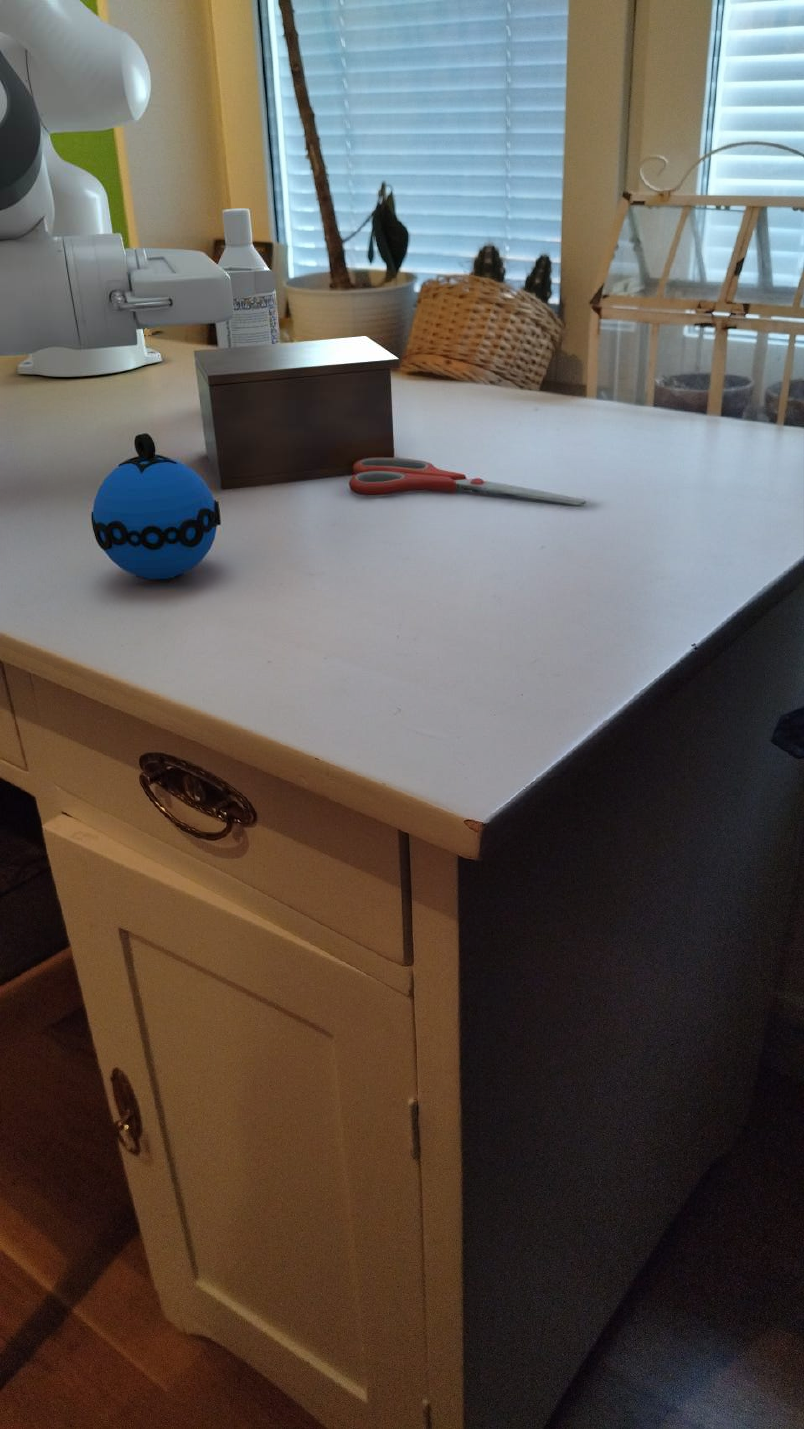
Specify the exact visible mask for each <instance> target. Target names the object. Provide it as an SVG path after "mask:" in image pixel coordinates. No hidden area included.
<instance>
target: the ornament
mask: <svg viewBox="0 0 804 1429" xmlns="http://www.w3.org/2000/svg"><path fill="white" fill-rule="evenodd" d="M133 442H134V443H133V444H134V450H135V452H136V453H137V455H136V456H134V457H131V458H129V459H126V460H124V461H123V462H121V463H119V464H118V466H117V467H115V468H114V469H113V470H112V471H111V472H110V473H109V474H108V475H107V476H106V477H105V478H104V480H103V482H102V483H101V484H100V486H99V487H98V490H97V493H96V495H95V498H94V500H93V508H92V511H91V514H90V515H91V516H90V517H91V526H92V531H93V535H94V538H95V541H96V543H97V545H98V546H99V548H101V549H102V550H103V552H104V553H105V555H107V556H108V558H109V559H110V560H111V561H112V562H113V563H114V564H115V565H117V566H118V567H119V569H122V570H123V571H125V572H127V573H129V574H131V575H133V576H135V577H137V578H141V579H145V580H156V581H165V580H170V579H173V578H179V577H182V576H183V575H184V574H186V573H187V572H189V571H192V570H193V569H194V568H195V567H196V566H198V564H200V563H201V562H202V561H203V560H204V559H205V557H206V556H207V554H208V553H209V552H210V550H211V548H212V546H213V543H214V542H215V539H216V532H217V529H218V526H221V525H222V520H221V512H220V511H221V510H220V504H219V501H217V500H216V499H214V496H213V494H212V492H211V490H210V488H209V486H208V485H207V483H206V482H205V480H203V478H202V476H200V475H199V474H198V473H197V472H195V470H194V469H192V468H191V467H190V466H188V465H186V464H185V463H183V462H182V461H179V460H176V459H173V458H170V457H167V456H165V455H160V454H157V453H156V445H155V442H154V439H153V438H152V436H151V435H150V434H149V433H146V432H144V433H139V434H136V435H135V437H134V441H133Z"/></svg>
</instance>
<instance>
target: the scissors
mask: <svg viewBox="0 0 804 1429" xmlns="http://www.w3.org/2000/svg"><path fill="white" fill-rule="evenodd" d="M353 472H354V474H355V475H351V477H350V479H349V481H348V485H349V489H350V491H352V492H353V493H354V494H356V495H360V496H366V497H368V496H371V497H372V496H374V497H375V496H386V495H394V494H399V493H405V492H413V491H417V492H418V491H421V492H422V491H423V492H438V493H439V492H440V493H455V492H456V491H457V488H460V489H462V490H464V491H469V492H473V493H477V494H479V493H481V494H488V495H495V496H503V497H512V498H517V499H524V500H525V499H526V500H532V501H540V502H548V503H553V504H561V505H568V506H583V505H585V504H586V503H587V501H586V500H584V499H579V498H576V497H573V496H567V495H564V494H558V493H553V492H548V491H543V490H540V489H534V488H528V487H524V486H523V487H522V486H517V485H512V484H506V483H499V482H493V481H487V480H484V479H482V478H479V477H475V478H467V476H466V475H465V474H464V473H461V472H455V471H449V470H443V469H441V468H437V467H436V466H435V465H434V464H432V463H430V462H428V461H425V460H421V459H420V460H419V459H413V458H404V457H394V458H393V457H372V458H365V459H361V460H359V461H357V462H356V463H355V464H354V466H353Z"/></svg>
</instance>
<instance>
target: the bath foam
mask: <svg viewBox="0 0 804 1429" xmlns="http://www.w3.org/2000/svg"><path fill="white" fill-rule="evenodd" d="M221 213H222V214H221V215H222V216H221V217H222V225H223V226H222V227H223V235H224V242H225V248H224V250H223V252H222V253H221V256H220V258H219V261H218V263H217V265H218V266H219V267H224V266H232V267H247V268H253V267H267V268H268V269H269V267H268V265H267V263H266V262H265V261H264V259H263V257H262V256H261V255H260V253H259V251H258V250H257V249H256V248H255V247H254V244H253V231H252V222H251V220H252V219H251V212H250V209H249V208H228V209H223V210H222V211H221ZM233 309H234V317H233V318H232V319H231V320H229V321H225V322H220V323H215V330H216V341H217V349H221V348H233V347H244V346H256V345H268V344H280V343H281V335H280V334H281V333H280V323H279V321H280V320H279V312H278V311H279V310H278V300H277V291H276V290H275V291H274V292H272V293H261V294H254V295H250V296H247V297H243V298H239V299H233Z"/></svg>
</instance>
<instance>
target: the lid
mask: <svg viewBox="0 0 804 1429" xmlns="http://www.w3.org/2000/svg"><path fill="white" fill-rule="evenodd" d="M193 358H194V362H195V361H196V362H197V364H198V366H199V368H200V370H201V372H202V374H203V375H204V377H205V379H206V381H207V383H208V385H220V384H231V383H242V382H253V381H264V380H275V379H286V378H297V377H308V376H319V375H330V374H341V373H352V372H363V371H374V370H384V369H390V370H394V369H400V359H399V358H398V356H396V355H394V354H392V353H391V352H389V350H386V348H384V347H382V346H381V345H380V344H378V343H376V342H375V341H373V339H370V338H369V337H368V336H365V335H364V336H363V335H362V336H353V337H342V338H339V337H338V338H329V339H317V340H305V341H295V342H294V341H293V342H280V344H268V345H256V346H244V347H233V348H221V349H218V348H212V349H211V348H210V349H199V350H197V349H196V350H193Z"/></svg>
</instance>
